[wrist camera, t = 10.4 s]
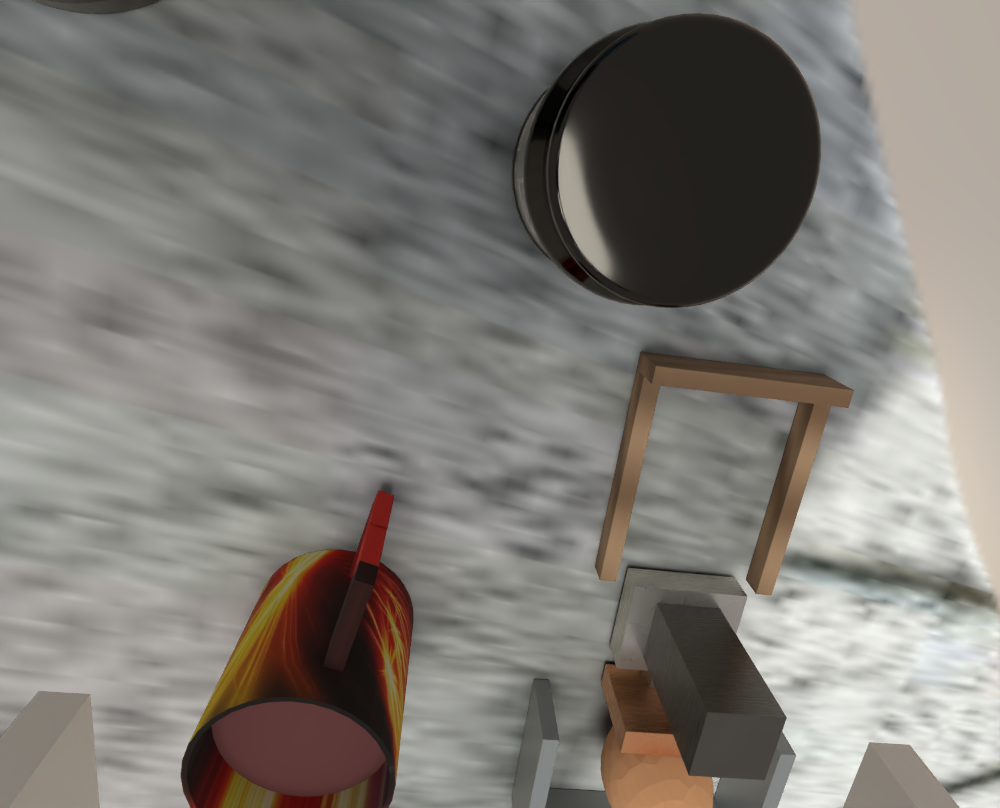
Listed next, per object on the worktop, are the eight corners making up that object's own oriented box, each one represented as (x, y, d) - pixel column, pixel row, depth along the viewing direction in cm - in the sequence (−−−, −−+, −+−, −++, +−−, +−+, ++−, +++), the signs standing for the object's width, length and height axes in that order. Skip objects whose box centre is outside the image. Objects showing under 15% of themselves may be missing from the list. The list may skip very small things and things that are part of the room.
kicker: (627, 568, 41) (682, 693, 31) (734, 577, 41) (821, 703, 31) (601, 683, 44) (643, 833, 33) (701, 690, 44) (771, 839, 34)
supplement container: (752, 146, 33) (902, 127, 22) (627, 315, 36) (705, 376, 25) (590, 12, 31) (665, -87, 20) (468, 203, 33) (473, 213, 22)
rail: (640, 351, 37) (655, 366, 34) (824, 374, 38) (853, 390, 35) (595, 566, 41) (605, 594, 38) (760, 581, 42) (782, 610, 39)
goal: (534, 678, 43) (543, 739, 39) (760, 695, 45) (795, 755, 40) (511, 796, 47) (517, 865, 42) (723, 808, 48) (752, 876, 44)
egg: (698, 690, 45) (754, 808, 36) (669, 765, 47) (716, 893, 38) (604, 677, 44) (639, 795, 35) (579, 753, 46) (606, 882, 37)
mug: (395, 479, 38) (367, 604, 27) (422, 669, 43) (408, 845, 31) (230, 495, 38) (131, 628, 27) (275, 684, 42) (207, 867, 31)
